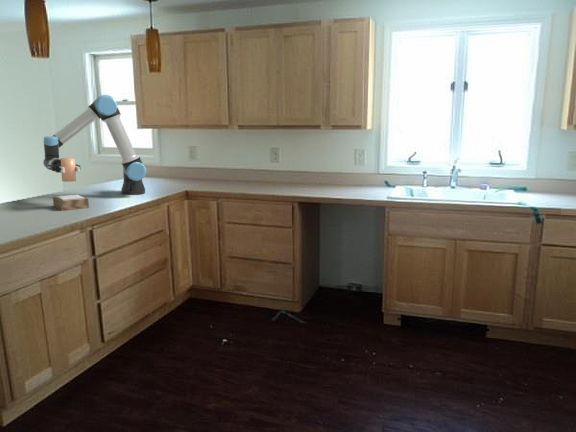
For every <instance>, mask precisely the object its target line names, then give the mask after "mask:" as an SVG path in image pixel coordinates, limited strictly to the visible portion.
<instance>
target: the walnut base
mask: <svg viewBox="0 0 576 432" xmlns="http://www.w3.org/2000/svg"><path fill="white" fill-rule="evenodd" d="M52 201H53V202H52V203H53V208H56V209H58V210H60V211H62V212H63V211H70V210H71V211H74V210H80V209H81V210H83V209H89V208H90V203H89V201H90V200H89V198H87V197H85V196H82V195H81V194H69V195H59V196H58V195H57V196H55V197H52Z"/></svg>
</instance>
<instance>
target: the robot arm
mask: <svg viewBox="0 0 576 432" xmlns="http://www.w3.org/2000/svg"><path fill="white" fill-rule="evenodd" d="M121 114H122V113H121V111H120V110H119V107H118V102H117V101H116V99H115V98H114V97H113V96H111V95H109V94H102V95H99V96H97V98H96V99H94V101H93V102H92V103H91V104H90V105H88V106H87V109H86V110H84V111H83V112H82V113H81V114H79V115H78V116H77V117H76V118H74V119H73V120H72V121H70V122H69V123H67V124H66V125H65V126H63V127H62V128H60V130H58V131H57V132H56V133H54V134H53V135H52V136H50V135H47V136H44V137H43V148H44V158H43V164H42V165H43V166H44V167H45V168H46V170H50V171H52V172H55V173H61V172H63V173H65V168H64V167H61V158H60V148H61V147H63V145H65V144H66V143H67V142H69V141H70V140H71V139H72V138H74V137H75V136H77V135H79V133H80V132H82V131H83V130H84V129H85V128H87V127H88V126H89V125H91V124H92V123H94V122H95V121H96V120H100V119H101V121H102V122H104V123H105V124H106V126H107V129H108V131H109V133H110V135H111V137H112V139H113V142H114V144H115V145H116V148H117V150H118V153H119V155H120V157H121V159H122V161H121V165H122V169H123V171H122V172H123V175H122V176H123V183H122V186H121V191H120V193H121V194H122V195H127V196H128V195H130V196H133V195H134V196H135V195H143V194H146V187H145V184H144V183H143V182H144V181H143V179H144V178H145V177H146V175H147V174H146V173H147V167H146V166H145V165H144V163H143V161H142V158H141V157H140V156H139V155H138V154H136V151H135V149H134V147H133V145H132V143H131V140H130V138H129V136H128V134H127V131H126V129H125V126H124V125H123V123H122V120H121ZM75 168H76V173H77V172H78V173H80V172H81V169H82V168H81V165H80V164H76V163H75ZM61 174H62V173H61Z"/></svg>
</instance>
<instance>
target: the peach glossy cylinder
mask: <svg viewBox="0 0 576 432" xmlns="http://www.w3.org/2000/svg"><path fill="white" fill-rule="evenodd" d="M60 159H61V167H64V168H65V173H63V172H61V181H62V182H64V183H65V182H69V183H71V182H72V183H73V182H76V181H77V171H76V168H75V165H76V158H74V157H62V158H60Z"/></svg>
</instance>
